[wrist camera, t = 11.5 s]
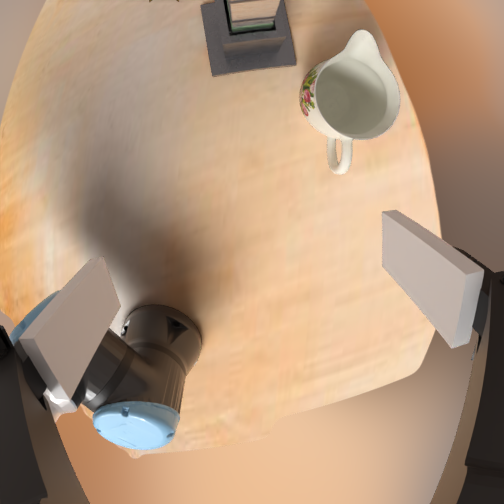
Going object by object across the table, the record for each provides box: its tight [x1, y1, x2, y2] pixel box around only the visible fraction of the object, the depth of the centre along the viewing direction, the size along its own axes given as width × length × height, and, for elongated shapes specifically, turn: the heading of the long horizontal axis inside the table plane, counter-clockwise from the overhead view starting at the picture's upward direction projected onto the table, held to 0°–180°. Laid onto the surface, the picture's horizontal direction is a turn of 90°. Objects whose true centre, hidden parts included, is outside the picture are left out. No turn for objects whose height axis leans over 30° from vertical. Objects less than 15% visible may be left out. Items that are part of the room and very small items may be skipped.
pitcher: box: [300, 29, 400, 174], centre depth 37 cm, size 11×18×14 cm, turn 176°
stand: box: [201, 0, 296, 77], centre depth 34 cm, size 12×12×10 cm
